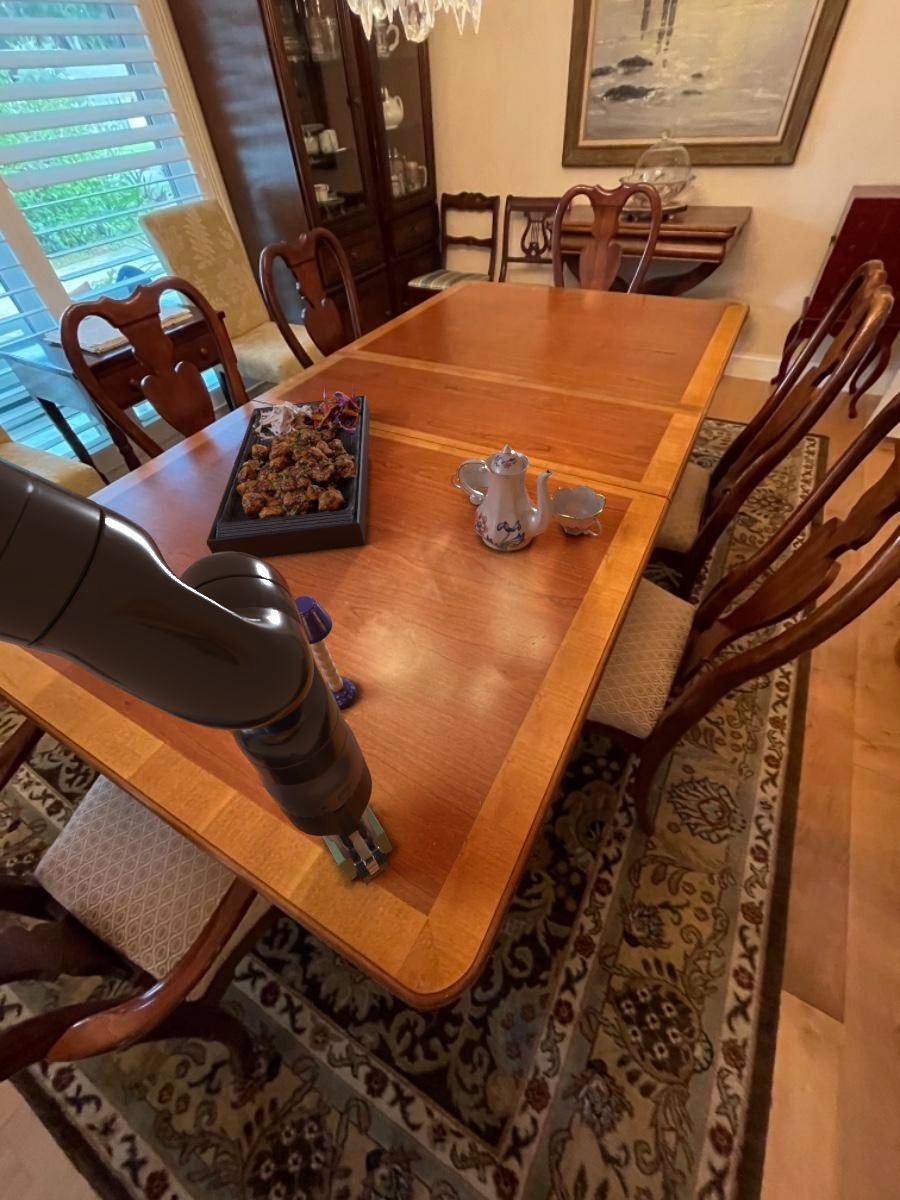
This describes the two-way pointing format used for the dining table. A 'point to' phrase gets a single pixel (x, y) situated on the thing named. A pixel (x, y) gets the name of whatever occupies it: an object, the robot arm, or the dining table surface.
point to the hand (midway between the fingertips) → (359, 843)
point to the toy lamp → (324, 648)
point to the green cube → (347, 864)
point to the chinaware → (522, 501)
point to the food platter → (298, 480)
